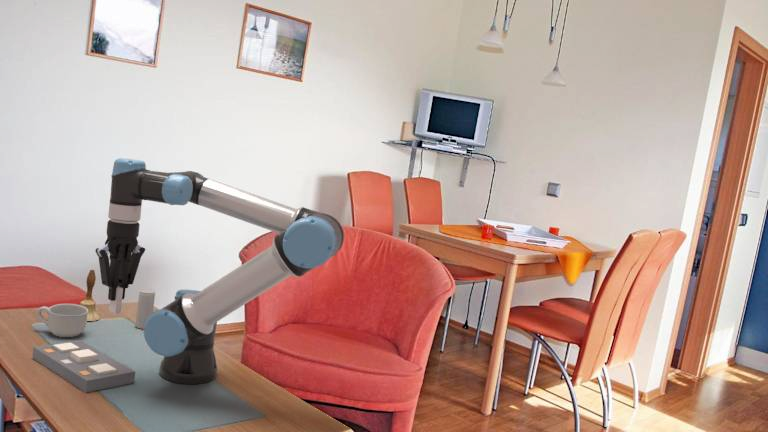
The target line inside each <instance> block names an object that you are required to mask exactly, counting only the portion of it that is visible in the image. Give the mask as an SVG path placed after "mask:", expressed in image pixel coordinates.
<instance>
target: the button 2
mask: <svg viewBox="0 0 768 432" xmlns="http://www.w3.org/2000/svg"><path fill="white" fill-rule="evenodd" d="M88 370H90V371H91V372H93V373H95V374H96V375H103V374H109V373H114V372H116V369H115V368H114V367H112V366H110V365H108V364H107V363H104V364H99V365H93V366H88Z"/></svg>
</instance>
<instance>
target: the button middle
mask: <svg viewBox="0 0 768 432" xmlns="http://www.w3.org/2000/svg"><path fill="white" fill-rule="evenodd" d="M97 358H98V354H96V353H94V352H93V351H91V350H89V349H85V350H78V351H72V352H71V353H70V359H72V360H73V361H75V362H77V363H78V364H82V363H88V362H94V361H97Z"/></svg>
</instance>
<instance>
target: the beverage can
mask: <svg viewBox="0 0 768 432" xmlns="http://www.w3.org/2000/svg"><path fill="white" fill-rule="evenodd" d="M155 296H156V291H155V290H152V289H147V288H146V289H140V290H139V292H138V302H137V309H136V317H135V326H134V327H136V329H139V328H140V329H139V330H144V325H145V322H146V320H147V319H148V317H149V316H150V315H151V314H152V313H153V312H154V307H155V299H156V297H155Z"/></svg>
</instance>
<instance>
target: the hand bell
mask: <svg viewBox="0 0 768 432" xmlns="http://www.w3.org/2000/svg"><path fill="white" fill-rule="evenodd" d="M95 271H96V270H94V269H90V270H89V272H88V274H87V277H86V288H87V290H86V295H85V299H84V300H82V301H80V303H79V305H81V306H84V307H86V308H87V309H88V313H87V321H94V322H97V321H96V320H98V321H100V320H101V317H100V316H99V314H98V313H97V312H98V311H97V310H96V309H97V308H96V307H97V306H96V302H95V301H93V300H92V298H93V289H94V287H95V283H96V273H95ZM99 319H100V320H99Z"/></svg>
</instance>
